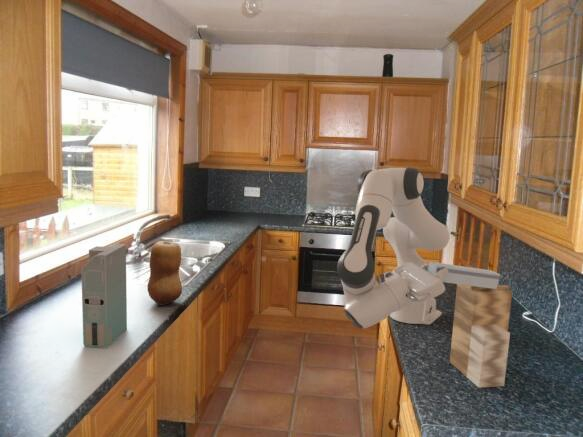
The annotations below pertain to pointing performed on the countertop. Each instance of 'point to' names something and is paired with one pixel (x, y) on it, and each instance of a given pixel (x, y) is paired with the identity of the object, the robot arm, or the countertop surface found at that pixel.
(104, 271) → the device
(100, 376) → the countertop surface
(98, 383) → the countertop surface
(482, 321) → the tall wood grain block
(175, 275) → the butternut squash
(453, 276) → the foil carton
